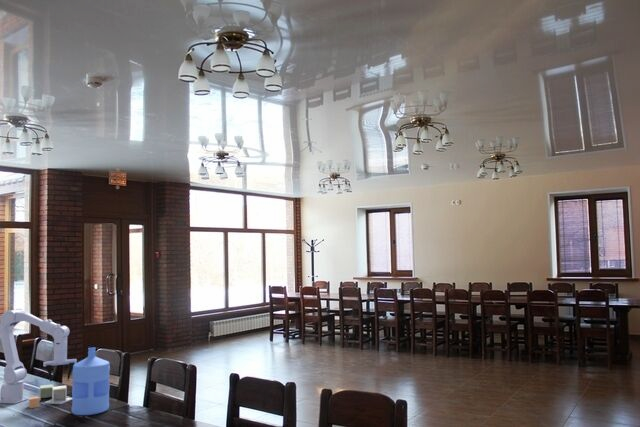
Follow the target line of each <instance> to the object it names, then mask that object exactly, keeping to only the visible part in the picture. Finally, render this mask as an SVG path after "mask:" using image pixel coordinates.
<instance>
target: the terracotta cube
mask: <svg viewBox="0 0 640 427" xmlns="http://www.w3.org/2000/svg"><path fill="white" fill-rule="evenodd" d="M28 407H29V409H33V408H40V400H39V396H31V397H29V404H28Z"/></svg>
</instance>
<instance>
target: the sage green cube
mask: <svg viewBox="0 0 640 427" xmlns="http://www.w3.org/2000/svg"><path fill="white" fill-rule="evenodd" d="M52 387H55V386H54V383H53V384H46V385H45V384H44V385H39V396H38V397H39V402H42V401H41V400H42V399H46V398H52Z"/></svg>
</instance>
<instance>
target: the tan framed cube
mask: <svg viewBox="0 0 640 427" xmlns="http://www.w3.org/2000/svg"><path fill="white" fill-rule="evenodd" d="M67 390H68V388H67V385H58V386H54V387H52V397H51V400H52V403H53V402H54V400H55V399H63V398H65V401H66V398H68V397H67V395H68V392H67Z"/></svg>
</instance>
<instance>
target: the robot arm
mask: <svg viewBox="0 0 640 427" xmlns="http://www.w3.org/2000/svg"><path fill="white" fill-rule="evenodd" d="M21 322H27V323H29V324H31V325H33V326H37V327H39V330H40V331H42V332H43V333H46V334H48V335H50V336H51V337H52V338H53V344H54V345H53V360H49V361H48V360H47V361H44V362H43V367H45V369H46V371H47V374H48V376H49V382H52V380H53V378H52V368H53V366H60V365H61V366H62V365H67V367H68V368H67V380H70V377H71V373H72V372H73V365H74V364H76V363H78V360H77V358H71V359H70V358H68V336H69V335H70V332H71V331H70V328H69V327H68V326H67V325H61V324H60V323H55V322H54V321H53V320H52V319H50V318H49V319H44V320H43V319H41V318H40V317H37V316H35V315H33V314H32V313H29V311H27V310H23V309H22V308H16V309H11V310H5V311H4V312H3V313H2V314H1V315H0V340H1V344H2V349H3V354H4V355H3V356H4V358H5V363H6V365H5V367H4V368H3V372H4V373H3V380H4V383H2V384H1V387H0V404H15V405H16V404H18V403H21V402H23V401H26V400H28V398H26V397H25V398H24V384H25V383H24V381H25V378H26V377H27V375H28V372H27V371H28V370H27V369H26V368H25V366H24V363H23V362H22V361H20V358H19V354H18V349H17V345H16V339H15V335H14V328H15V327H16V326H17V325H18V324H19V323H21Z"/></svg>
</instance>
